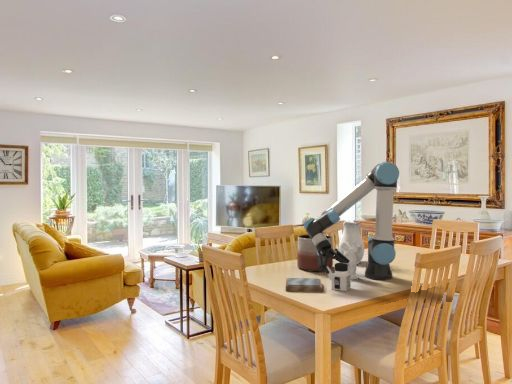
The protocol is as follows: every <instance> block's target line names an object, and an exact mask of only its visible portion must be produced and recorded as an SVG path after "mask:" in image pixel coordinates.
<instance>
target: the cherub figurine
mask: <svg viewBox="0 0 512 384" xmlns="http://www.w3.org/2000/svg"><path fill="white" fill-rule="evenodd" d="M351 246H352V248H351V247H350V244H349V243H348V242H346V241H343V242H342V243H341V244H340V247H341V249H342V251H344V256H345V257H346V258H347V259H348V260H349V261H350V262H349V263H348V264H349V266H350V268H351V270H352V272H353V273H354V274H353V275H352V276H351V280H357V279H358V276H357V275H356V272H357V269H358V268H357V265H359V259H358V254H357V252H361V248H362V247H361V245H360V246H358V245H356V242H355V241H353V242H352V244H351Z"/></svg>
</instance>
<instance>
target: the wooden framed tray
mask: <svg viewBox="0 0 512 384" xmlns="http://www.w3.org/2000/svg"><path fill="white" fill-rule="evenodd" d="M285 292H301V293H302V292H306V293H312V292H313V293H314V292H315V293H323V285H322V282H321V278H318V277H317V278H315V277H313V278H312V277H311V278H310V277H308V278H307V277H288V278H286V280H285Z"/></svg>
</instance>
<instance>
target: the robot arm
mask: <svg viewBox="0 0 512 384" xmlns="http://www.w3.org/2000/svg"><path fill="white" fill-rule="evenodd" d="M399 177H400V169H399V168H398V165H396V164H395V163H394V162H390V161H383V162H380V163H378V164H376V165H375V166H374V167H373V168H372V169H371V171H369V172H368V173H367V174H366V175H364V179H363V180H361V181H360V182H359V183H358V184H356V186H354V187H353V188H352V189H351V190H349V191H347V193H346V194H344V195H343V196H342V197H341V198H339V199H338V200H337V201H336V202H335V203H333V204H332V205H331V206H330V207H328V208H327V209H326V210H324V211H323V212H322V213H321V214H320V216H318V218H314V217H310V218H308V219H306V220H305V221H304V222H303V227H304V229H305V231H306V234H308V235H309V236H310V238H311V240H312V241H313V243H314V245H315V246H316V248H317V250H318V252H317V253H316V255H317V257H318V265H319V268H320V269H321V268H322V270H324V271H323V272H325V274H326V275H327V277H328V278H329V280H330V281H332V280H333V278H334V275H333V273H334V272H332V270H331V269H330V268H329V267H328V266H327V259H329V258H330V259H331V258H332V259H333V260H335V261H337V263H346V264H347V265H348V272H347V273H351V276H352V275H353V274H354V273H353V272H352V270H351V268H350V266H349V264H348V263H349V262H350V261H349V260H348V259H347V258H346V257H345V256H344V255H343V254H342V253H340V252H339V248H333V249H332V248H331V244H330V242H329V241H328V239H327V238H326V236H325V235H326V234H325V232H324V231H325V230H327V229H329V228H330V227H332V226H333V225H335V224H337V223H338V222H340V220H341V216H342V215H343V214H344V213H345V212H347V211H348V210H350V209H351V208H352V207H353V206H355V204H357V203H358V202H359V201H360V200H362V199H364V197H366V196H367V195H368V194H369V193H371V192H372V191H374V190H376V199H375V201H376V202H375V203H376V204H375V223H374V224H375V225H374V230H375V231H374V235H373V236H368V237H367V265H366V268H365V270H364V277H365V278H367V279H372V280H381V281H382V280H392V279H393V272H392V268H391V265H390V264H391V263H392V262H393V261H394V260H395V258H396V254H397V253H396V249H395V238H394V237H393V216H394V215H393V214H394V193H395V192H394V191H395V190H397V188H398V180H399ZM322 256H323V260H322ZM326 266H327V267H326Z"/></svg>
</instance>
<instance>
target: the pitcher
mask: <svg viewBox="0 0 512 384" xmlns="http://www.w3.org/2000/svg"><path fill="white" fill-rule="evenodd" d="M342 225H343V231H342V234H341V237H340V240H339V241H338V242H339V243H338V251H339V252H340V253H342V254H343V255H344V251H342V249H341V247H340V244H341V243H342V242H343V241H346V242H348V243H349V244H350V247H351V248H352V246H351V244H352V242H353V241H355V242H356V245H358V246H360V245H361V247H362V248H361V252H357V254H358V259H359V263H361V261H362V260H363V258H364V255H365V243H364V240H363V237H362V235H361V230H360V226H361V225H362V221H359V222H355V221H354V222H352V221H350V220H349V219H345V220H344V222H343V223H342ZM359 263H358V264H359Z"/></svg>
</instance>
